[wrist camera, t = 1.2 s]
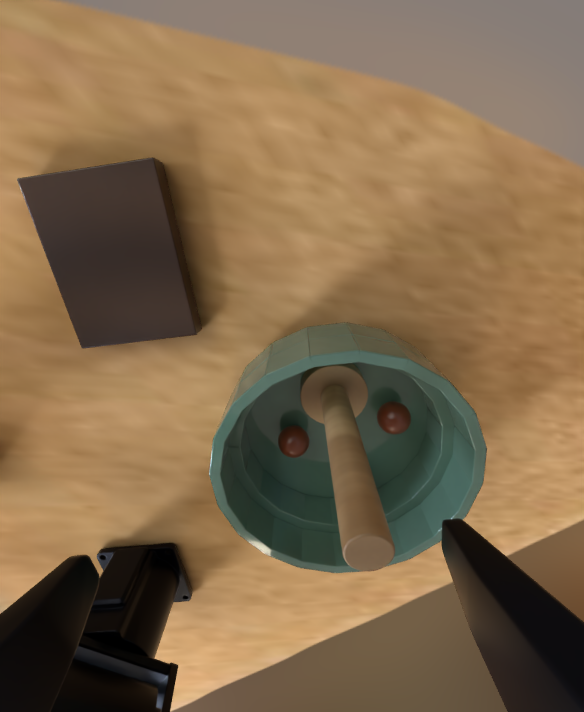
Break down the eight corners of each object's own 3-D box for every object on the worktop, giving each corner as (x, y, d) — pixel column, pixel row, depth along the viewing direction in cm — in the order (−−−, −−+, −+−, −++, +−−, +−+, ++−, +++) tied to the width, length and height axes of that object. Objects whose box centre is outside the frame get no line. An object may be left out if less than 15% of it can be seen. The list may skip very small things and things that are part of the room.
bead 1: (310, 443, 22) (311, 463, 20) (281, 446, 22) (279, 466, 20) (307, 417, 21) (308, 435, 19) (276, 420, 21) (274, 439, 19)
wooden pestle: (365, 411, 21) (434, 593, 10) (304, 418, 21) (310, 601, 11) (362, 353, 19) (438, 497, 9) (296, 361, 20) (295, 510, 9)
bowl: (437, 492, 24) (475, 563, 19) (250, 509, 25) (238, 580, 20) (445, 306, 19) (499, 334, 14) (210, 334, 20) (179, 370, 15)
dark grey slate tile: (202, 329, 20) (196, 335, 19) (93, 342, 20) (81, 348, 19) (162, 161, 17) (153, 156, 16) (34, 181, 17) (15, 178, 16)
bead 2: (405, 421, 21) (415, 439, 19) (374, 424, 21) (381, 442, 19) (405, 393, 20) (415, 410, 18) (373, 397, 20) (380, 413, 19)
